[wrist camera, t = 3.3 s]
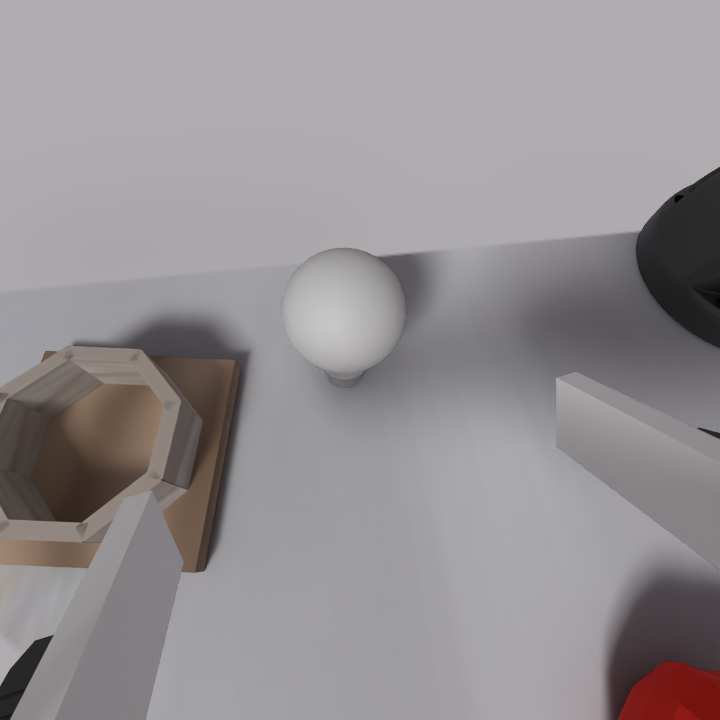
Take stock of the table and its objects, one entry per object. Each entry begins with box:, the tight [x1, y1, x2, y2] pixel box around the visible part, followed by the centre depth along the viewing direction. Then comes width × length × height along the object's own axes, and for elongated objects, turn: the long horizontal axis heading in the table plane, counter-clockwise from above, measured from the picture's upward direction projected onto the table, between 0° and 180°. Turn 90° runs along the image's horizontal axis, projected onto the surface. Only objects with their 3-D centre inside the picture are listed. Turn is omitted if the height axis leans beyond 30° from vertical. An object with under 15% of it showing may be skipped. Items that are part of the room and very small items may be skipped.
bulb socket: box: [0, 346, 241, 573], centre depth 22 cm, size 12×12×5 cm
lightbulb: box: [281, 248, 407, 387], centre depth 22 cm, size 6×6×11 cm
